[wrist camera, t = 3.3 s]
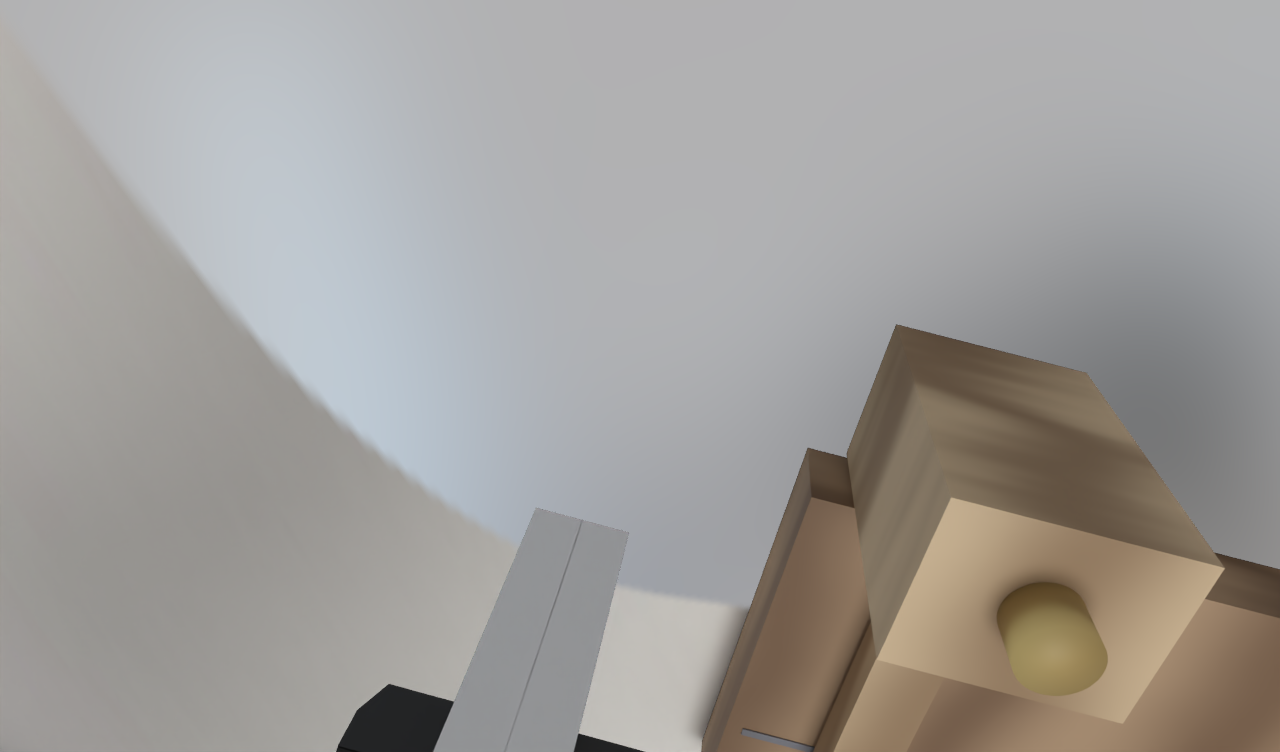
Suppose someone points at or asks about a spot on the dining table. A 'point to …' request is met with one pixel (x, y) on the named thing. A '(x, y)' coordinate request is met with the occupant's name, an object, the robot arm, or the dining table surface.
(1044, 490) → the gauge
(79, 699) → the dining table surface
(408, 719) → the robot arm
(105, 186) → the dining table surface
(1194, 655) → the board
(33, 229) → the dining table surface
